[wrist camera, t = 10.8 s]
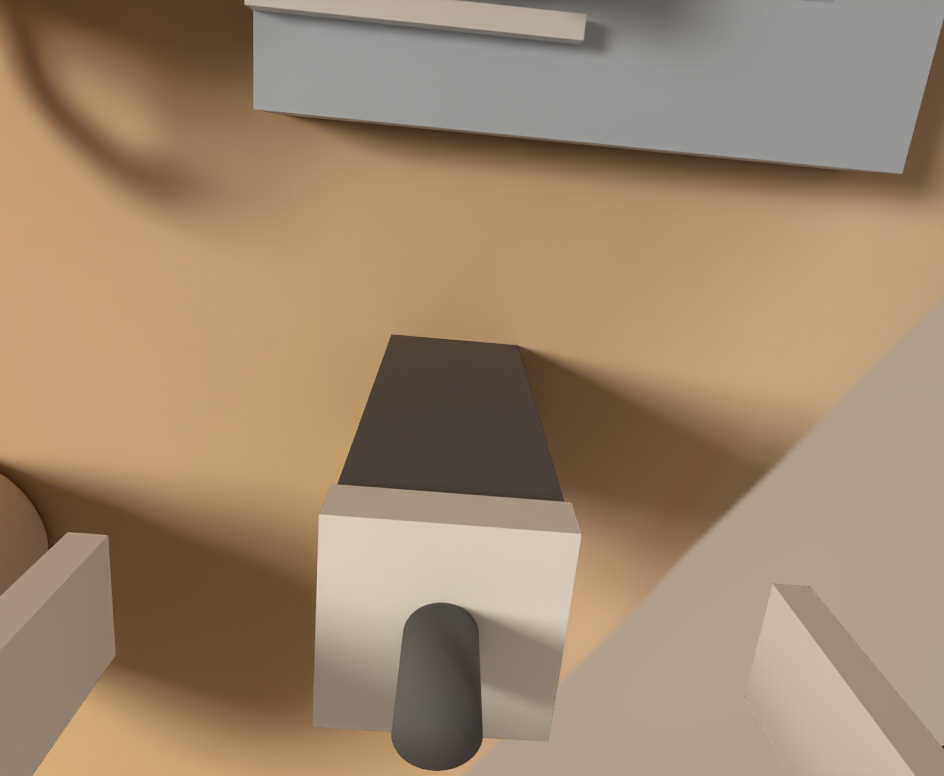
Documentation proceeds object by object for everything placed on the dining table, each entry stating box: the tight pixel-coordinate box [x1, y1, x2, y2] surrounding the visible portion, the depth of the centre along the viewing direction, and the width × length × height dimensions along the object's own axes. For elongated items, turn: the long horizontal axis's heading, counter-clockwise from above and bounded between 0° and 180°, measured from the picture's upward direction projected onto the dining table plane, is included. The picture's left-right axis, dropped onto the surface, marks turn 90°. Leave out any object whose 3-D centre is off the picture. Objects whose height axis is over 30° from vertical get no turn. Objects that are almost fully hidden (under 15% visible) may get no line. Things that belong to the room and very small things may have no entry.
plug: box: [312, 335, 582, 771], centre depth 19 cm, size 5×5×16 cm
